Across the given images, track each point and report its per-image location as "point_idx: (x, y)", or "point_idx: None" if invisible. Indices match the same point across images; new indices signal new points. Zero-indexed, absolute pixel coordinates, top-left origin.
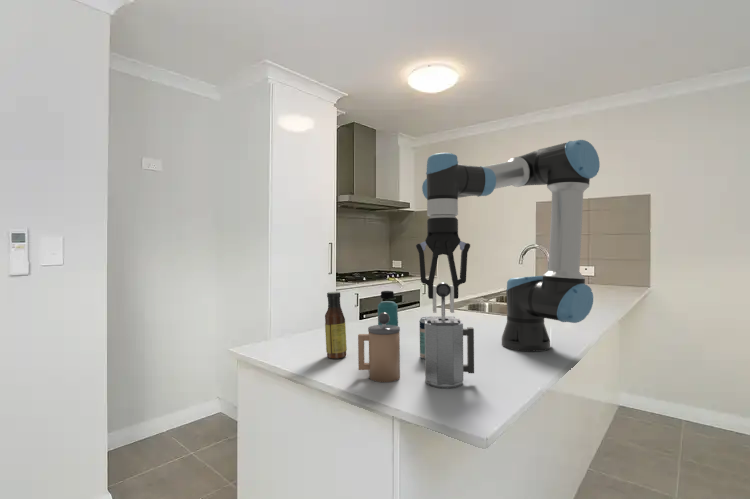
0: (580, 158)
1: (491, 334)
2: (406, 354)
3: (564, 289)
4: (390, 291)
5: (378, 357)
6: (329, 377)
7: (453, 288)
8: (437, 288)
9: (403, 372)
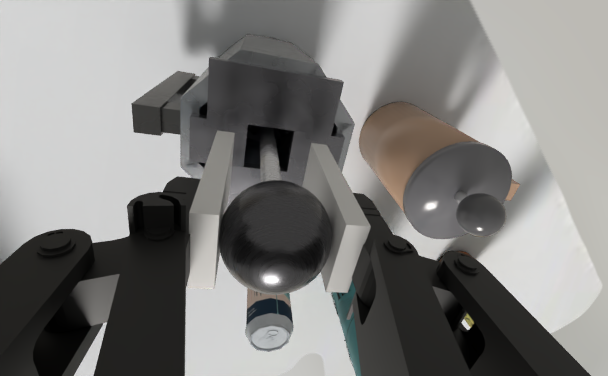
0: None
1: None
2: None
3: None
4: None
5: (446, 123)
6: (504, 146)
7: (196, 202)
8: (328, 223)
9: (344, 164)
